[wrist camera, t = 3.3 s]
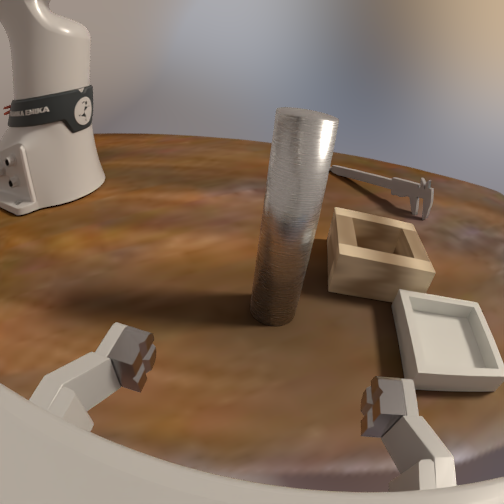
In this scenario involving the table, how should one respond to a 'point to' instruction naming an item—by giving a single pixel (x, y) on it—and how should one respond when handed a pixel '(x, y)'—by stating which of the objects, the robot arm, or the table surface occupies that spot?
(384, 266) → the bore block
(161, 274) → the table surface
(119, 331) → the robot arm
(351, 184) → the table surface
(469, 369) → the tray
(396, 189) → the caliper
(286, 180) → the grey rounded cylinder
